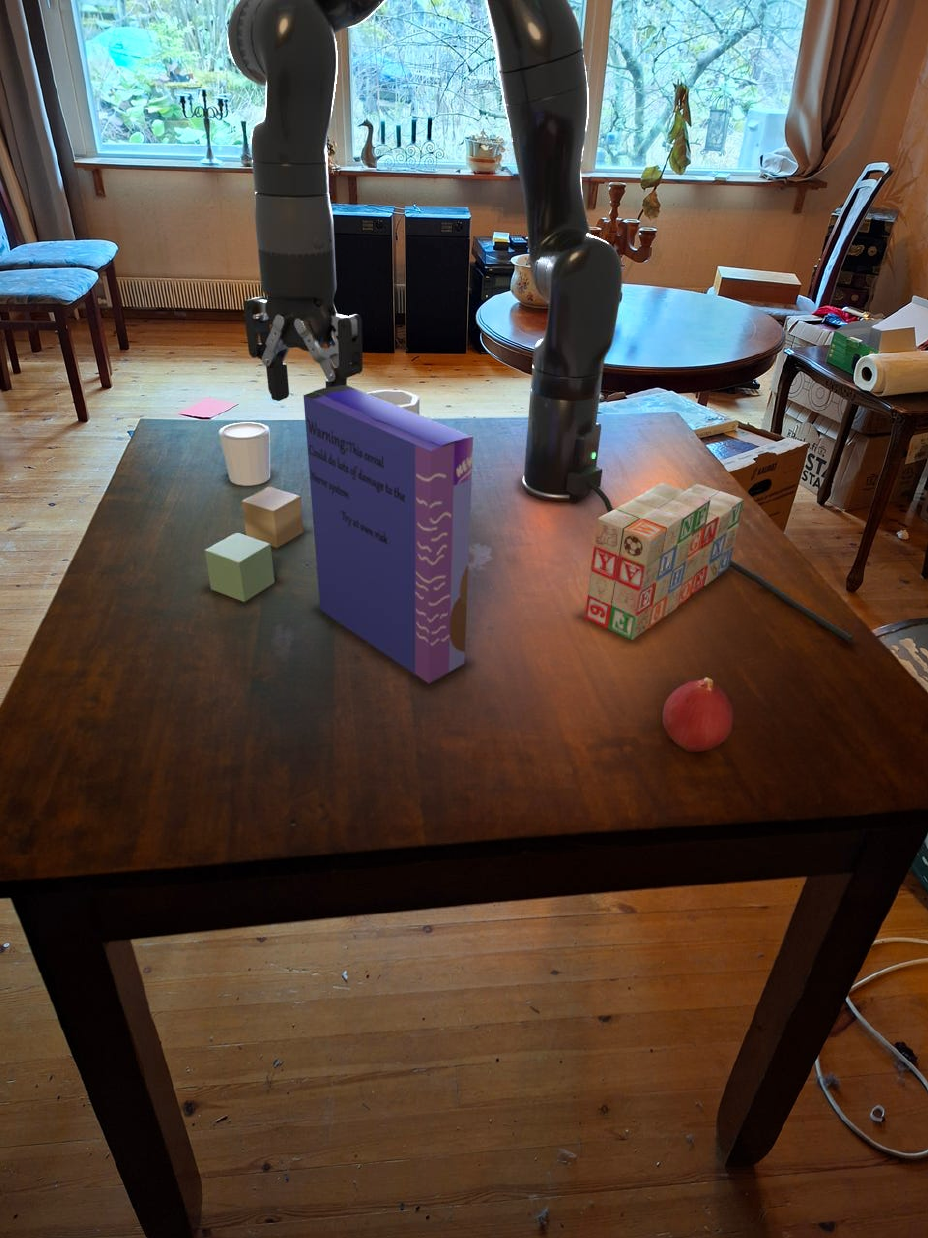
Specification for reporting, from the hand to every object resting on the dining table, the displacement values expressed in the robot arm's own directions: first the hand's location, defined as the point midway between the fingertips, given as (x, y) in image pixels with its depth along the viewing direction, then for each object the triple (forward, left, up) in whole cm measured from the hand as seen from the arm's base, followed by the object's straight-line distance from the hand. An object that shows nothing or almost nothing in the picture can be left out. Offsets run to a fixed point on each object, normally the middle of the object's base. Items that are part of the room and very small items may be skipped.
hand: (307, 405), depth 91 cm
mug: (+6, -25, -18) cm, 32 cm away
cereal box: (-18, +11, -18) cm, 28 cm away
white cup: (+21, -11, -18) cm, 30 cm away
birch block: (+7, 0, -18) cm, 19 cm away
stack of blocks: (-39, -13, -18) cm, 45 cm away
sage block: (+2, +11, -18) cm, 21 cm away
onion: (-50, +11, -18) cm, 54 cm away
